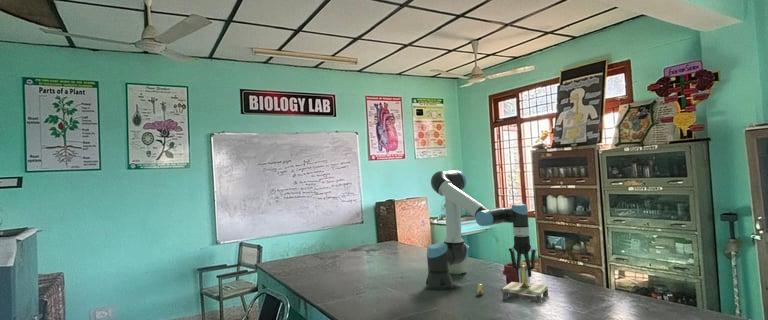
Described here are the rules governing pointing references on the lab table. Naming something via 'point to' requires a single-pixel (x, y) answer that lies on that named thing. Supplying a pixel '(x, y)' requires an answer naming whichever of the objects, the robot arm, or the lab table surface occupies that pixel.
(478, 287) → the short pin
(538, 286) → the stand
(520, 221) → the robot arm
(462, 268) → the canister
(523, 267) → the long pin
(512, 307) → the lab table surface
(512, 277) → the mechanical component
